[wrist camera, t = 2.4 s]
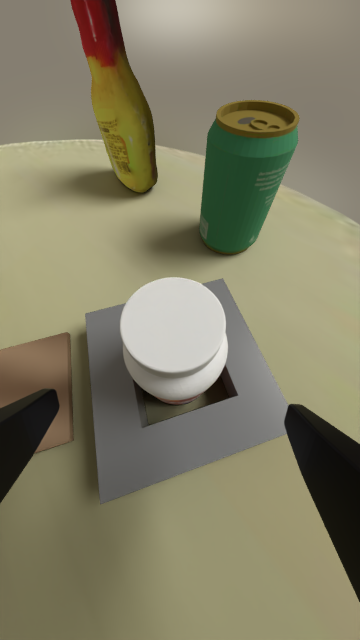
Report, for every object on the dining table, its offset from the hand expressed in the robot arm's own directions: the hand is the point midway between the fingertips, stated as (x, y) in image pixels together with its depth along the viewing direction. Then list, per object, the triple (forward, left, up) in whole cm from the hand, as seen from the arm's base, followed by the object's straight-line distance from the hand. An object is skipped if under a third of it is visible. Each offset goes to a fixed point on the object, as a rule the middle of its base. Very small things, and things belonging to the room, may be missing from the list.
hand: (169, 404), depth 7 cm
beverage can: (+19, -13, -10) cm, 26 cm away
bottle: (+37, -3, -10) cm, 39 cm away
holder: (+3, -1, -10) cm, 11 cm away
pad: (+5, +14, -10) cm, 18 cm away
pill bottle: (+3, -1, -10) cm, 11 cm away
